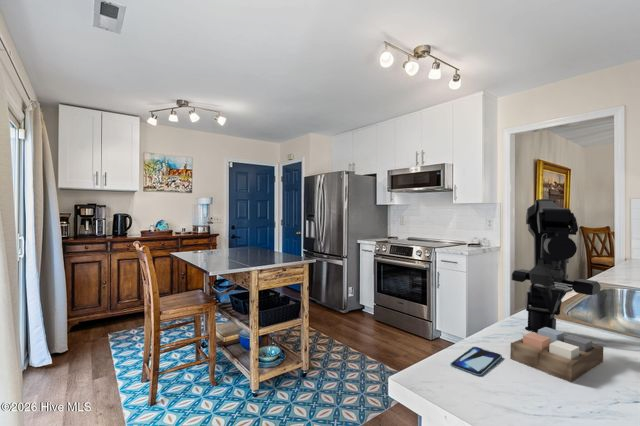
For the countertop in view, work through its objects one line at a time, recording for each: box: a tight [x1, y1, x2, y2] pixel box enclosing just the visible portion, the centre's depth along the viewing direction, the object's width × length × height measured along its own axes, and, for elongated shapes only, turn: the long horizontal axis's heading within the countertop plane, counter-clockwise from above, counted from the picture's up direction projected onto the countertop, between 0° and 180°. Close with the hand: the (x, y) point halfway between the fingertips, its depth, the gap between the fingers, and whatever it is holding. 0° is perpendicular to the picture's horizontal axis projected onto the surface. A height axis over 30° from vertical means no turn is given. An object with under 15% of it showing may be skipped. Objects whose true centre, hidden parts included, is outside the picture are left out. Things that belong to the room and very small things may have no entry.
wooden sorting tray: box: [509, 332, 605, 383], centre depth 82 cm, size 13×19×4 cm
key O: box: [564, 334, 593, 352], centre depth 82 cm, size 4×4×3 cm
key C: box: [538, 327, 565, 342], centre depth 87 cm, size 4×4×3 cm
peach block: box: [522, 331, 550, 350], centre depth 82 cm, size 4×4×3 cm
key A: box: [549, 340, 579, 360], centre depth 77 cm, size 4×4×3 cm
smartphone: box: [450, 346, 503, 377], centre depth 81 cm, size 7×1×15 cm
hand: (551, 313), depth 87 cm, fingers closed
